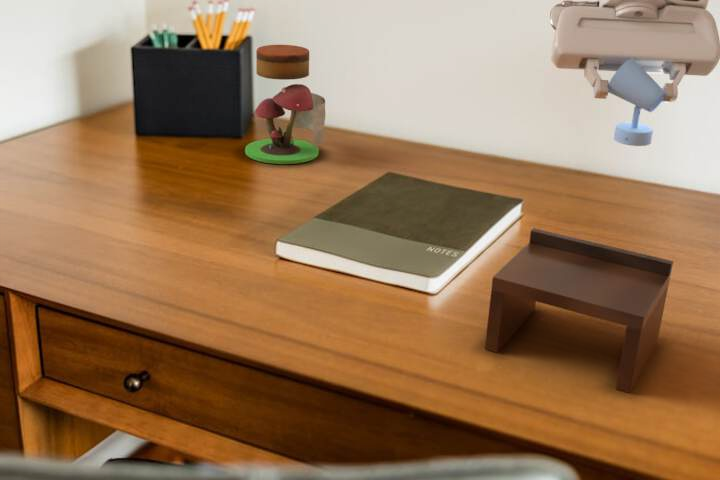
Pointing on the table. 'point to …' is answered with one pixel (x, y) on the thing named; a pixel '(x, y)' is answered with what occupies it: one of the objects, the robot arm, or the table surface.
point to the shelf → (583, 292)
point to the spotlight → (635, 101)
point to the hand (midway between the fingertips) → (635, 98)
